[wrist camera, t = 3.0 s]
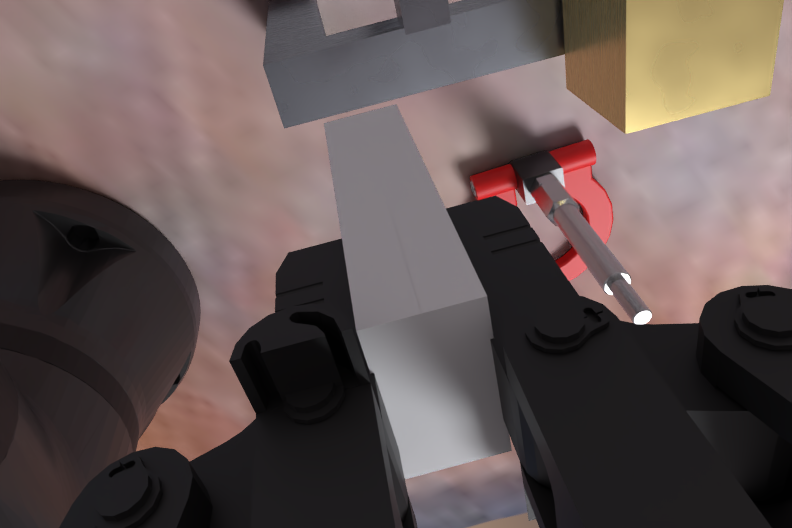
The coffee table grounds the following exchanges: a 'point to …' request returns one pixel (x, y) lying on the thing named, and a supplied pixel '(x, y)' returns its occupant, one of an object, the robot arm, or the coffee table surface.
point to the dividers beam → (399, 51)
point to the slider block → (668, 56)
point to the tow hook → (569, 213)
